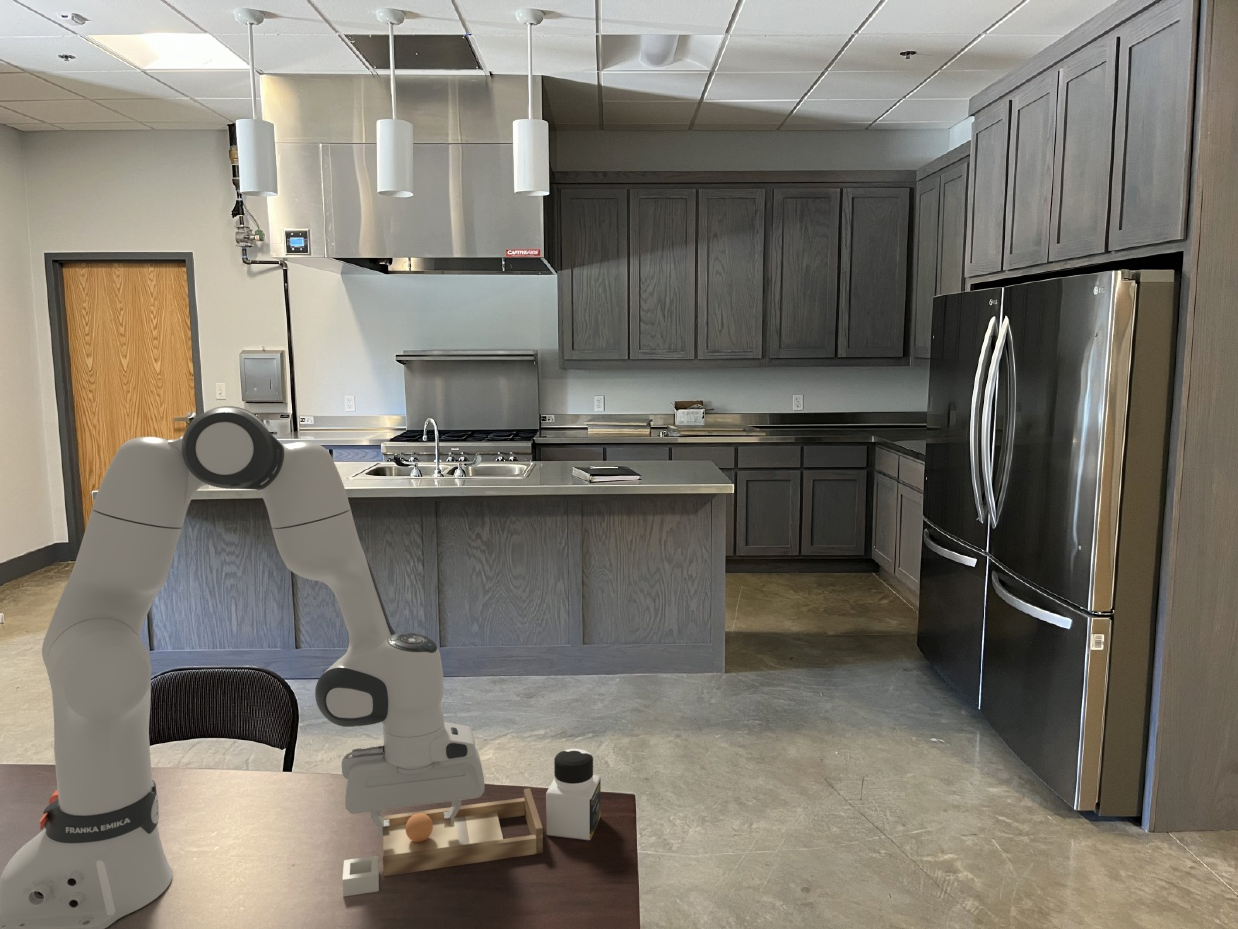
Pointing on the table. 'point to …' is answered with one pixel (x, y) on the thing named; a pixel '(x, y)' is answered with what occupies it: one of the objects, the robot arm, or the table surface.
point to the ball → (419, 827)
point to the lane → (462, 837)
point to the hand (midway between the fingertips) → (417, 830)
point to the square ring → (360, 876)
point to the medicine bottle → (573, 796)
